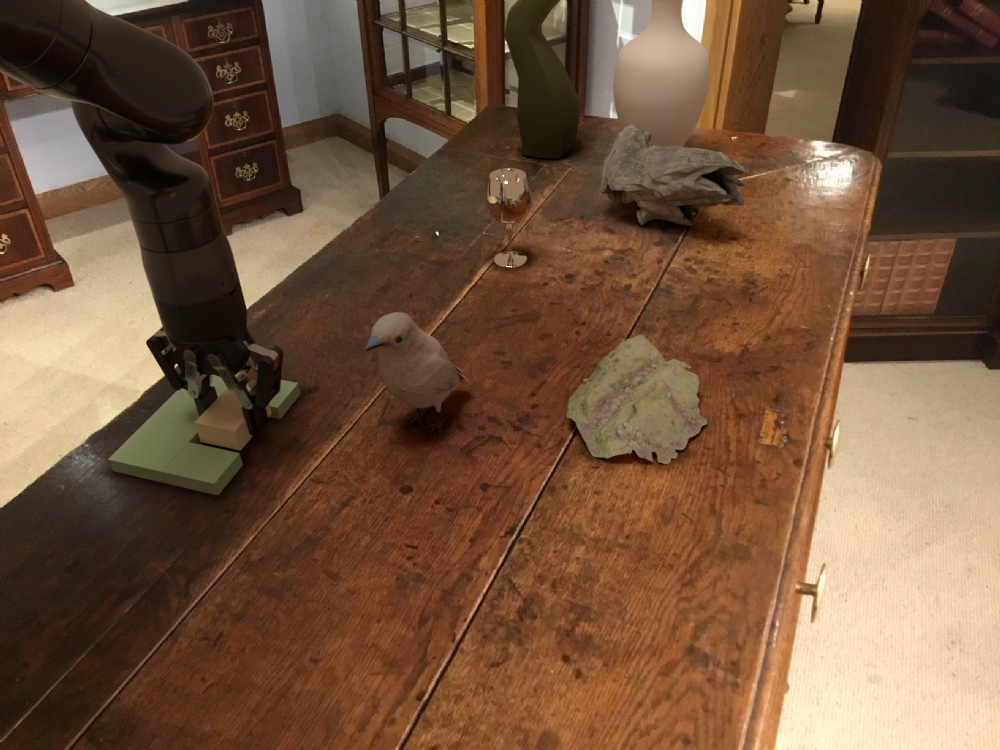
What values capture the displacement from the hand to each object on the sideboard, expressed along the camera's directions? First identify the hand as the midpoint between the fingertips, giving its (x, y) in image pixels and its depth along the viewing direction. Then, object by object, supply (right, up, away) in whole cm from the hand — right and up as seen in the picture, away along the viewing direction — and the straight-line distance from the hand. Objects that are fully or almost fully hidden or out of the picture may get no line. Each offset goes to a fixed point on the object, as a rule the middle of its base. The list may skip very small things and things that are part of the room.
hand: (236, 425), depth 86 cm
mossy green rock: (+41, +1, +2) cm, 41 cm away
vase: (+52, +39, +52) cm, 83 cm away
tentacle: (+34, +43, +58) cm, 80 cm away
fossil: (+50, +27, +36) cm, 68 cm away
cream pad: (0, 0, 0) cm, 0 cm away
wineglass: (+28, +20, +28) cm, 45 cm away
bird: (+19, 0, +2) cm, 19 cm away
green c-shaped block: (-3, -1, +2) cm, 4 cm away
